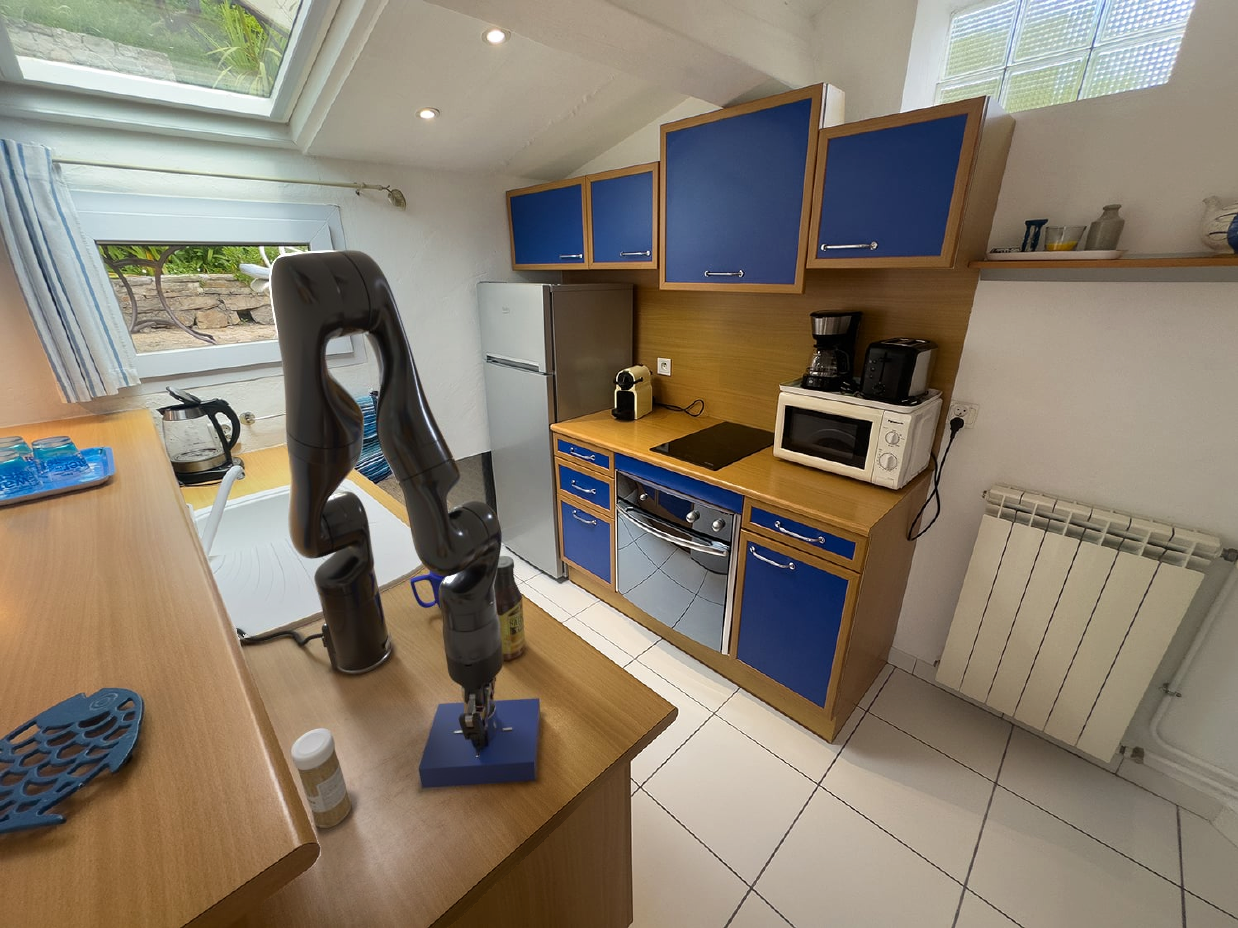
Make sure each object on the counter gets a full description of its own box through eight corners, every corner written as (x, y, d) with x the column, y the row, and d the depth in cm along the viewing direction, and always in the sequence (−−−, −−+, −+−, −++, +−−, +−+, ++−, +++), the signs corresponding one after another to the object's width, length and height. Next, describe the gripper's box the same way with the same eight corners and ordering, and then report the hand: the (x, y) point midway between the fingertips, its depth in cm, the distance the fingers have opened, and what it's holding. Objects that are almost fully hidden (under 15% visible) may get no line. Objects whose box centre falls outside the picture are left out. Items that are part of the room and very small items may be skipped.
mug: (415, 604, 107) (408, 565, 103) (472, 590, 112) (467, 553, 108) (417, 628, 100) (410, 587, 96) (478, 613, 105) (473, 573, 101)
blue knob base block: (422, 788, 70) (417, 768, 68) (441, 721, 80) (438, 702, 79) (535, 780, 71) (533, 760, 70) (540, 715, 81) (539, 697, 80)
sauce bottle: (518, 664, 92) (510, 575, 84) (486, 659, 93) (476, 570, 85) (530, 640, 98) (524, 554, 90) (501, 635, 99) (492, 550, 91)
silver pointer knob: (497, 741, 73) (494, 718, 71) (466, 745, 72) (462, 722, 70) (499, 716, 77) (496, 693, 75) (470, 719, 76) (466, 696, 74)
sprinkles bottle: (308, 813, 67) (284, 744, 61) (343, 788, 70) (323, 720, 65) (322, 837, 64) (298, 766, 59) (358, 810, 67) (338, 740, 62)
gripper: (457, 607, 74) (469, 692, 80) (430, 682, 61) (447, 777, 67) (507, 606, 75) (515, 690, 81) (492, 680, 61) (502, 773, 68)
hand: (484, 729), depth 74 cm, fingers closed on silver pointer knob, 4 cm apart
